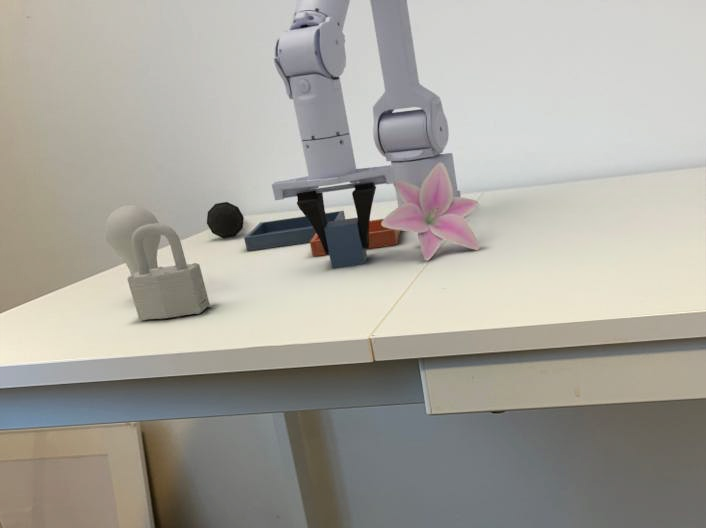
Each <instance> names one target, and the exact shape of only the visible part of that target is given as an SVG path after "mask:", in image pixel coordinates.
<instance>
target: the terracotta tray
mask: <svg viewBox="0 0 706 528" xmlns="http://www.w3.org/2000/svg"><path fill="white" fill-rule="evenodd" d="M383 220H384V218H380V219H379V218H378V219H374V220H373V219H371V220H370V221H369V248H366V250H369V249H376V248H382V247H389V246H396V245H398V240H399V236H400V231H401V230H396V229H389V228H386V227H383V226H382V225H381V222H382V221H383ZM309 245H310V249H311V254H312V257H320V256H327V255H328V254H325V251H324V248H323V246H322V243H321V241H320V239H319V237H318V235H317V233H316V234H315V235H314V237H313V238H312V240H311V241H310V242H309Z"/></svg>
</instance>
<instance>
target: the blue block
mask: <svg viewBox="0 0 706 528" xmlns="http://www.w3.org/2000/svg"><path fill="white" fill-rule="evenodd" d="M324 230H325V235H326V240H327V245H328V250H329V254H328V255H329V259H330V264H331V268H332V269H337V268H344V267H352V266H357V265H364V264H365V263H366V260H367V259H368V252H367V249H363V247H362V243H361V238H360V229H359V222H358V217H351V218H345V219H344V220H337V221H330V222H328V223H327V225H326V226H325V228H324Z"/></svg>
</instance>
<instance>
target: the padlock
mask: <svg viewBox="0 0 706 528" xmlns="http://www.w3.org/2000/svg"><path fill="white" fill-rule="evenodd" d="M150 234H161V236H164V237H165V238H166V240H167V242H168V244H169V246H170V250H171V253H172V257H173V261H174V264H175V265H168V266H158V268H155V269H149V266H148V263H147V259H146V256H145V252H144V249H143V238H144V237H145V236H147V235H150ZM131 244H132V250H133V254H134V257H135V261H136V264H137V267H138V272H136V273H134V274H133V275H131V274H130V275H129V276H127V283H128V286H129V290H130V293H131V297H132V300H133V304H134V307H135V311H136V315H137V316H138V317H137V318H138V320H140V321H146V320H164V319H169V318H170V319H171V318H181V317H182V316H189V315H194V314H195V315H200V314H201V313H203V311H205V310H206V309H207V308H208V307H209V306H210V305H211V304H210V300H209V296H208V292H207V288H206V284H205V280H204V276H203V272H202V269H201V265H200V263H196V262H193V263H192V264H191V263H190V264H187V261H186V256H185V252H184V248H183V246H182V242H181V239H180V238H179V235H178V233H177V232H176V230H174V229H173V228H172V227H171V226H169V225H167V224H165V223H160V222H159V223H152V224H146V225H143V226H141V227H139V228H137V229H136V231H135V232H134V233H133V235H132V239H131Z"/></svg>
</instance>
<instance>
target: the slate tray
mask: <svg viewBox="0 0 706 528" xmlns="http://www.w3.org/2000/svg"><path fill="white" fill-rule="evenodd" d="M325 215H326V221H327V223H328V222H330V221H337V220H344V219H346V214H345V211H344V210H339V211H332V212H331V211H330V212H325ZM315 234H316V231H315V230H314V228H313V226H312V225H311V223H310V222H309V220H308V219H307V217H306V216H305V215H304V216H298V217H297V216H296V217H289V218H282V219H275V220H269V221H262V222H260V223H258V224H257V225H256V226H255V227H254V228H253V229H252V230H250V231H249V233H247V234H246V235H245V236H244V237H243V239H244V243H245V248H246V251H247V252H251V251H257V250H258V251H259V250H267V249H272V248H279V247H286V246H294V245H300V244H307V243H308V244H309V243H310V241H311V240H312V238H313V237H314V235H315Z"/></svg>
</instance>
